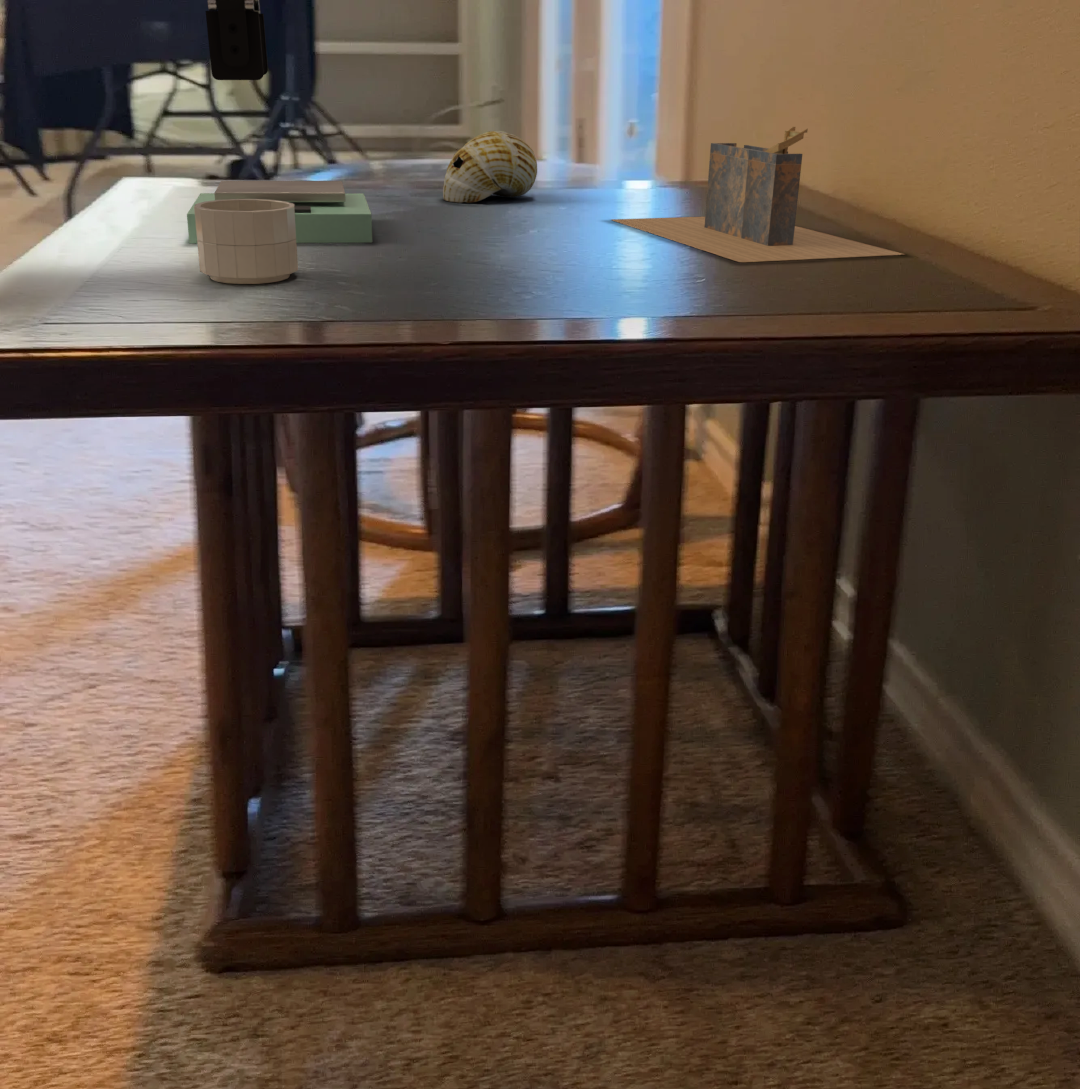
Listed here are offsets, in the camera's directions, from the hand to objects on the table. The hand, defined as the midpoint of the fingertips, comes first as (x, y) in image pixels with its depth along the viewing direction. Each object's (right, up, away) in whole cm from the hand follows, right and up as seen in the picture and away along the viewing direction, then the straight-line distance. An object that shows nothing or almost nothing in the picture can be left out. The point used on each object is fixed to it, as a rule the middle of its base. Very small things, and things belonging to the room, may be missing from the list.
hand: (242, 77), depth 79 cm
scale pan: (-3, 0, +26) cm, 26 cm away
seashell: (+15, +6, +50) cm, 52 cm away
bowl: (-1, -12, +5) cm, 13 cm away
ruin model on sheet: (+39, -3, +29) cm, 49 cm away
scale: (-3, -4, +25) cm, 26 cm away
